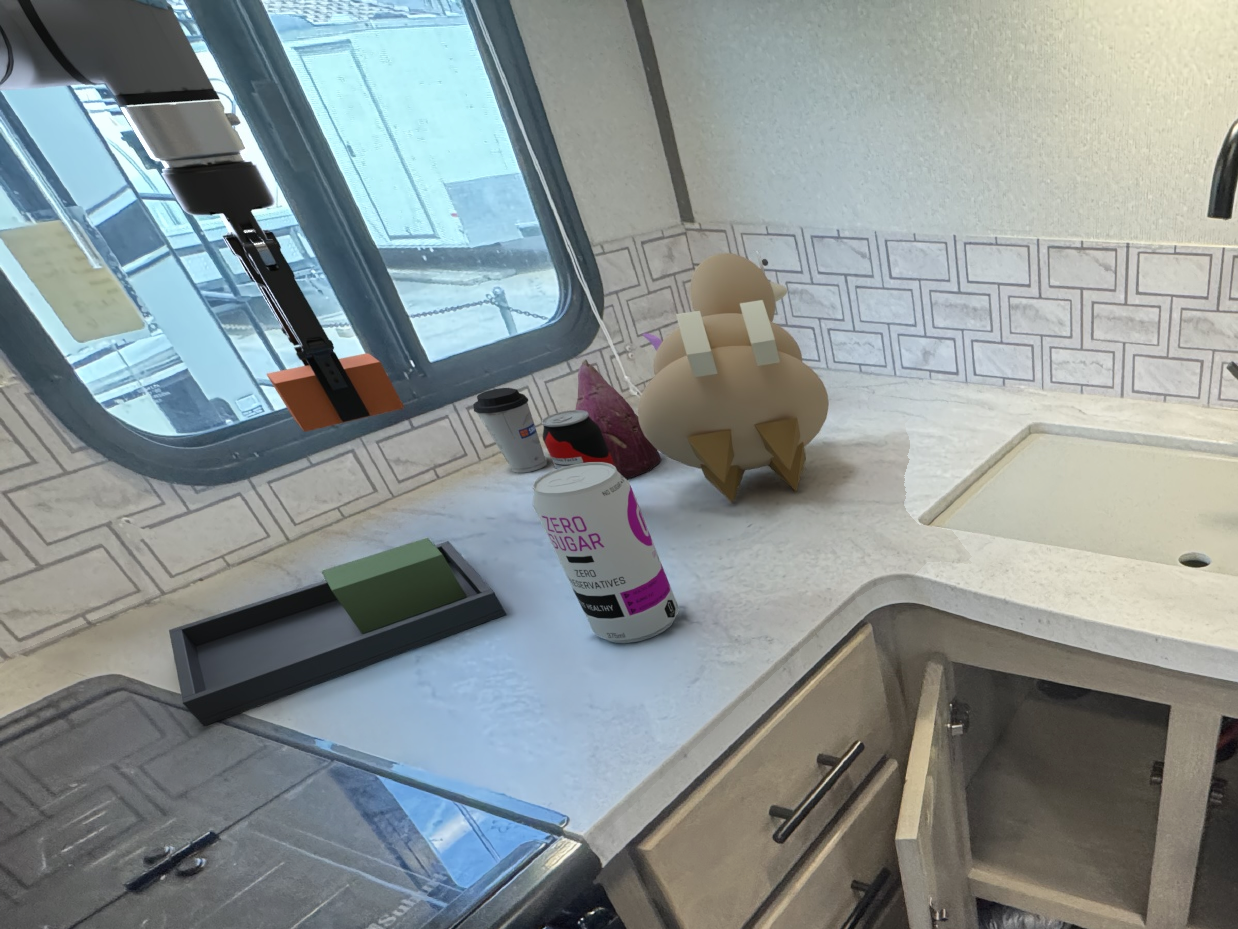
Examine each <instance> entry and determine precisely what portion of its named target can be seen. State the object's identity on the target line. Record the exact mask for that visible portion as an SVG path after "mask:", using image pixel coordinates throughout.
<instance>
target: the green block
mask: <svg viewBox="0 0 1238 929" xmlns="http://www.w3.org/2000/svg"><path fill="white" fill-rule="evenodd" d="M435 545H436V544H434V542H432V540H431V539H430V538H429V537H425V538H421V539H419V540H416V541H412V542H410V543H406V544H403V545H399V546H396V547H392V548H390V549H386V550H384V551H380V552H377V553H374V554H371V555H368V556H365V557H364V556H363V557H362V558H358V559H354V560H352V561H348V562H345V563H342V564H339V565H336V566H333V567H329V568H326V569H323V570H321V574H322V576H323V577H324V580H326V581H327V583H328V585H329V587H330V588H331V590H332V592H333V593H334V595H335V596H336V597H337V599H338V600H339V602H340V603H341V605H342V606H343V608H344V609H345V610H346V612H347V613H348V615H349V616H350V618H351V619H352V621H353V622H354V623H355V625H356V626H357V628H358V629H359V631H360V632H361V633H362V634H364V633H367V632H370V631H373V630H376V629H378V628H381V627H384V626H387V625H390V624H393V623H395V622H398V621H401V620H404V619H407V618H410V617H412V616H415V615H418V614H421V613H424V612H427V611H429V610H432V609H435V608H438V607H441V606H444V605H447V604H449V603H452V602H455V601H458V600H461V599H464V598H466V597H467V596H466V594H465V593H464V591H463V589H462V587H461V586H460V584H459V582H458V580H457V579H456V577H455V575H454V573H453V572H452V570H451V568H450V567H449V565H448V563H447V561H446V560H445V558H444V556H443V555H442V553H441V552H440V551H439V550H438V549H437V547H436V546H435Z"/></svg>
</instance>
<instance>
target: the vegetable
mask: <svg viewBox="0 0 1238 929" xmlns="http://www.w3.org/2000/svg"><path fill="white" fill-rule="evenodd" d="M574 410H583V411H586V412H588V414H589V417H590V418H591V419H592V420H593V421H594V422H595V423H596V424H597V425H598V426H599V428H600V430H601V432H602V435H603V437H604V440H605V442H606V445H607V447H608V450H609V452H610V455H611V457H612V460H613V462H614V465H615V467H616V469H617V471H618V472H619V473H620V474H621V475H622V476H623V477H624V478H625V479H626V480H628V479H631V478H634V477H637V476H641V475H643V474H645V473H647V472H649V471H652V469H653V468H655V467H656V466H657V465H659V463H660V462H661V459H662V457H661V455H660V451H658V450H657V449H656V448H655V447H654V446H653V445H652V444H651V443H650V442H649V441H648V439H647V438H646V437H645V436H644V433H643V431H642V429H641V427H640V424H639V420H638V414H637V413H635V411H634V409H633V408H632V406H631V405H630V404H629V403H628V401H627V400H626V399H625V397H623V396H622V395H621V394H620V393H619V392H618V391H617V390H616V389H615V387H613V386H612V385H611V384H609V383H608V381H607V380H606V379H605V378H604V377H603V375H601V373H600V372H599V371H598V370H597V369H596V367H594V366H593V365H592V364H590V363H589V362H588V359H584V360H583V361H582V362H581V365H580V366H579V369H578V372H577V399H576V404H575V409H574Z"/></svg>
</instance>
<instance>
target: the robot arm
mask: <svg viewBox="0 0 1238 929" xmlns="http://www.w3.org/2000/svg"><path fill="white" fill-rule="evenodd" d="M98 84H105V85H106V87H107V88H108V89H109V90H110V92H111V93H112V95H113V96H114V99H115V100H116V102H117V103H118V105H119V106H120V107H119V108H120V109H121V111H122V113H123V115H124V116H125V118H126V120H127V121H128V123H129V124H130V126H131V128H132V130H133V131H134V133H135V134H136V136H137V138H138V139H139V141H140V143H141V144H142V146H143V148H144V149H145V151H146V153H147V154H148V156H149V158H150V159H151V160H154V161H156V162H161V163H162V165H163V167H164V168H162V169H161V171H162V173H161V176H162V177H163V180H164V181H165V183H166V184H167V185H168V187H169V189H170V190H171V192H172V193H173V196H174V197H175V199H176V200H177V202H178V204H179V205H180V207H181V209H182V210H183V211H184V212H185V213H187V214H188V215H190V216H213V215H214V216H215V215H219V217H220V219H221V221H222V222H223V224H224V226H225V228H226V230H227V232H226V233H225V234H221V237H222V239H223V241H224V243H225V244H226V246H227V248H228V249H229V250H230V252H231V253H232V254H233V255H234V256H236V258H237V259H238V262H239V263H240V265H241V267H242V269H243V271H244V272H245V274H246V276H248V278H249V280H251V281H252V282H253V283H254V284H255V285H256V287H257V289H258V290H259V292H260V293H261V295H262V298H263V299H264V300H265V302H266V304H267V305H268V307H269V310H270V311H271V313H272V314H273V316H274V318H275V319H276V321H277V322H278V324H279V326H280V330H281V332H282V334H284V336H286V337H287V339H288V342H289V343H291V344H292V345H293V346H294V347H293V349H294V350H295V356H296V357H297V359H298V360H299V361H301V362H302V364H303V366H307V365H309V366H310V367H311V369H312V371H313V372H314V374H315V376H316V378H317V379H318V381H319V383H320V384H321V386H322V388H323V389H324V391H325V393H326V395H327V396H328V398H329V400H330V401H331V403H332V405H333V407H334V408H335V410H336V412H337V413H338V415H339V417H340V418H341V420H342V421H343V422H344V423H346V422H345V421H349V422H351V421H350V420H353V421H355V420H354V419H357V420H359V419H358V418H361V419H363V418H362V417H365V418H367V417H366V416H370V414H369V412H368V410H367V409H366V407H365V405H364V403H363V401H362V400H361V398H360V396H359V394H358V393H357V391H356V389H355V387H354V385H353V384H352V382H351V380H350V378H349V377H348V375H347V373H346V371H345V369H344V368H343V366H342V364H341V362H340V361H339V359H340V358H339V357H338V355H337V354H336V352H335V346H334V343H333V341H332V340H331V339H330V338H329V337H328V335H327V333H326V331H325V329H324V328H323V326H322V324H321V323H320V320H319V319H318V317H317V316H316V314H315V312H314V310H313V308H312V307H311V305H310V303H309V301H308V300H307V298H306V296H305V294H304V293H303V291H302V289H301V287H300V286H299V284H298V281H297V280H296V276H295V273H294V271H293V269H292V267H291V266H290V264H289V263H288V261H287V259H286V258H285V256H284V254H283V252H282V246H281V243H280V242H279V241H278V239H277V237H276V235H275V233H274V232H273V231H272V230H269V229H268V228H266V229H265V228H264V229H263V228H262V226H261V225H260V223H259V222H258V220H257V218H256V217H255V215H254V214H253V212H252V211H255V210H263V209H267V208H268V209H269V208H271V207H273V206H275V204H276V199H275V196H274V195H273V193H272V191H271V189H270V187H269V185H268V184H267V181H266V180H265V178H264V176H263V174H262V173H261V171H260V169H259V167H258V165H257V163H256V164H255V163H254V162H253V161H252V160H246V159H245V157H244V155H243V154H246V153H247V151H248V149H247V147H246V144H245V142H244V141H243V138H242V137H241V135H240V133H239V132H238V131H237V130H236V129H235V128H234V127H239V126H240V125H241V121H240V119H239V117H238V116H237V114H235V113H232V112H225V106H224V104H223V103H222V101H221V100H220V99H221V98H220V97H219V95H218V93H217V91H216V90H215V87H214V86H213V84H212V82H211V80H210V79H209V76H208V74H207V73H206V71H205V69H204V67H203V65H202V63H201V61H200V60H199V58H198V56H197V53H196V52H195V50H194V48H193V46H192V44H191V42H190V41H189V39H188V37H187V35H186V33H185V31H184V29H183V27H182V25H181V23H180V22H179V19H178V17H177V15H176V13H175V10H174V8H173V6H172V4H170V3H169V2H168V1H167V0H0V91H15V90H31V89H32V90H33V89H43V88H55V87H66V86H77V85H78V86H79V85H85V86H91V85H94V86H95V85H98ZM370 417H371V416H370Z"/></svg>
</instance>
